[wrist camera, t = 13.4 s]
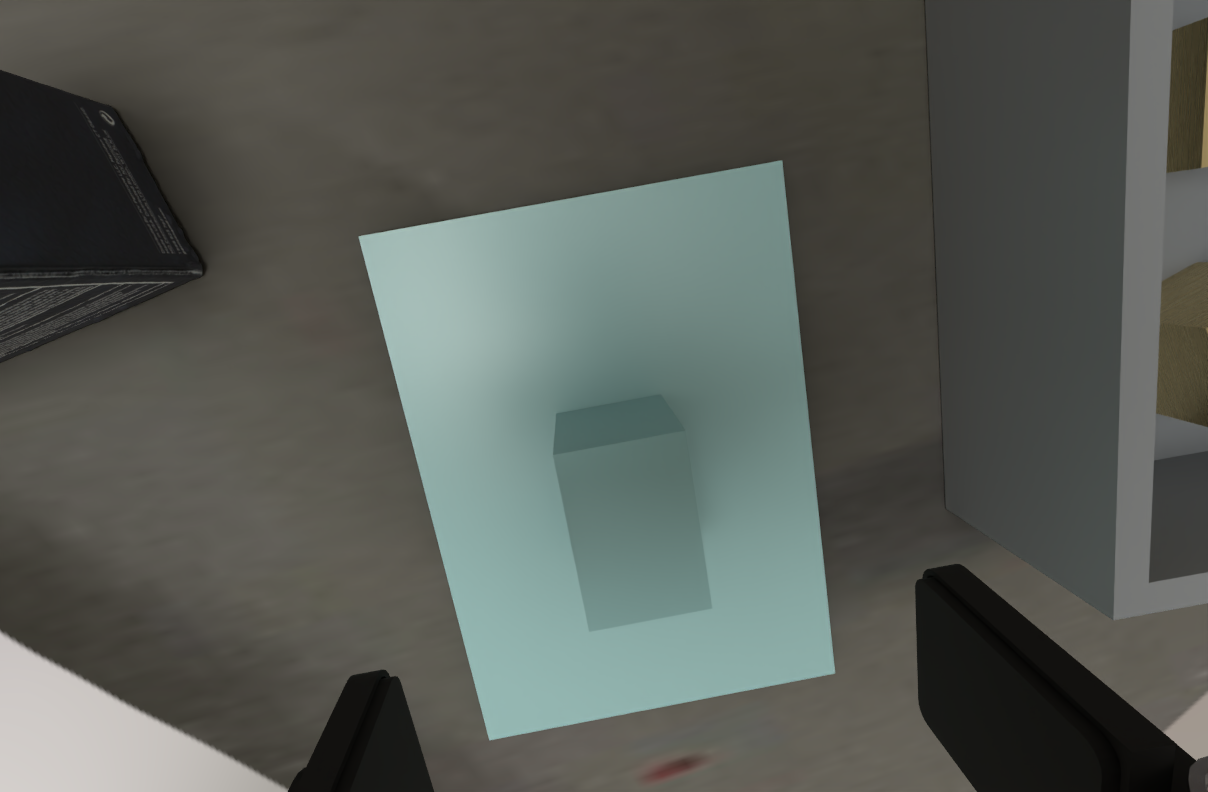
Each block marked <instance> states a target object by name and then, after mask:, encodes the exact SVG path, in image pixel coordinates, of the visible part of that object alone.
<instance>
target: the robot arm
mask: <svg viewBox="0 0 1208 792" xmlns="http://www.w3.org/2000/svg"><path fill="white" fill-rule="evenodd" d="M915 596H916V631H917V667H918V700H919V706H920V710H921V713H922V715H923V718H924V720H925V721H926V723H927V725H928V726H929V727H930V729H931V730H932V732H933V733H934V734H935V736H936V737H937V738H938V740H939V741H940V742H941V744H942V745H943V746H944V748H945V749H946V750H947V752H948V753H949V755H950V756H951V757H952V759H953V760H954V761H955V763H956V764H957V765H958V767H959V768H960V769H961V771H962V772H963V773H964V775H965V776H966V777H967V779H968V780H969V782H970V783H971V784H972V786H973V787H974V788H975V790H976V791H977V792H1208V756H1207V757H1203V758H1200V759H1198V760H1197V761H1196V760H1195V759H1194V758H1192V757H1191V756H1190V755H1189V754H1188V753H1186V752H1185V751H1184V750H1183V749H1182V748H1180V747H1179V746H1178V745H1177V744H1176V743H1175V742H1174V741H1172V740H1171V739H1170V738H1169V737H1168V736H1166V735H1165V734H1164V733H1163V732H1162V731H1161V730H1159V729H1158V728H1157V727H1156V726H1155V725H1153V724H1152V723H1151V722H1150V721H1149V720H1147V719H1146V718H1145V717H1144V716H1143V715H1141V714H1140V713H1139V712H1138V711H1137V710H1135V709H1134V708H1133V707H1132V706H1131V705H1129V704H1128V703H1127V702H1126V701H1125V700H1123V699H1122V698H1121V697H1120V696H1119V695H1117V694H1116V693H1115V692H1114V691H1113V690H1111V689H1110V688H1109V687H1108V686H1107V685H1105V684H1104V683H1103V682H1102V681H1101V680H1099V679H1098V678H1097V677H1096V676H1095V675H1093V674H1092V673H1091V672H1090V671H1089V670H1087V669H1086V668H1085V667H1084V666H1083V665H1081V664H1080V663H1079V662H1078V661H1077V660H1075V659H1074V658H1073V657H1072V656H1071V655H1069V654H1068V653H1067V652H1066V651H1065V650H1064V649H1062V648H1061V647H1060V646H1059V645H1058V644H1056V643H1055V642H1054V641H1053V640H1052V639H1050V638H1049V637H1048V636H1047V635H1046V634H1044V633H1043V632H1042V631H1041V630H1040V629H1038V628H1037V627H1036V626H1035V625H1034V624H1032V623H1031V622H1030V621H1029V620H1028V619H1026V618H1025V617H1024V616H1023V615H1022V614H1020V613H1019V612H1018V611H1017V610H1016V609H1014V608H1013V607H1012V606H1011V605H1010V604H1008V603H1007V602H1006V601H1005V600H1004V599H1002V598H1001V597H1000V596H999V595H998V594H996V593H995V592H994V591H993V590H992V589H990V588H989V587H988V586H987V585H986V584H984V583H983V582H982V581H981V580H980V579H978V578H977V577H976V576H975V575H974V574H972V573H971V572H970V571H969V570H968V569H966V568H965V567H964V566H962V565H960V564H953V565H948V566H942V567H937V568H932V569H927V570H925V571H924V574H923V579H919V580H917V582H916V585H915ZM288 792H434V790H433V787H432V783H431V780H430V777H429V774H428V770H427V767H426V764H425V760H424V757H423V754H422V751H421V747H420V744H419V741H418V737H417V734H416V731H415V728H414V724H413V721H412V718H411V714H410V711H409V708H408V705H407V701H406V698H405V695H404V692H403V688H402V685H401V682H400V680H399V678H398V677H396V676H394V677H390V676H389V673H388V672H387V671H386V670H378V671H373V672H368V673H362V674H357V675H353V676H351V677H350V678H349V679H348V681H347V683H346V685H345V687H344V689H343V691H342V693H341V695H340V697H339V700H338V702H337V704H336V706H335V708H334V710H333V712H332V714H331V716H330V718H329V721H328V723H327V725H326V727H325V729H324V731H323V733H322V735H321V737H320V739H319V742H318V744H317V746H316V748H315V750H314V752H313V754H312V756H311V758H310V760H309V763H308V765H307V767H306V768H304V769H302V770H301V771H300V772H299V773H298V774H297V776H296V777H295V779H294V780H293V782H292V784H291V786H290V788H289V790H288Z"/></svg>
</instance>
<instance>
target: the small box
mask: <svg viewBox="0 0 1208 792" xmlns="http://www.w3.org/2000/svg"><path fill="white" fill-rule="evenodd" d="M202 271H203V268H202V264H201V263H199V260H198V256H197V255H196V253H195V252H194V251H193V248H192V247H191V246H190V245H189V244H188V242H187V241H186V239H185V237H184V235H183V231H182V229H181V228H179V226H178V224H177V222H176V221H175V219H174V217H173V215H172V213H171V212H170V210H169V208H168V206H167V204H166V203H165V201H164V199H163V197H162V195H161V193H160V192H159V190H158V188H157V186H156V183H155V181H154V179H153V178H152V176H151V175H150V173H149V171H148V169H147V167H146V166H145V164H144V162H143V158H142V154H141V152H140V151H139V150H138V148H137V146H136V144H135V143H134V142H133V140H132V138H131V136H130V135H129V134H128V132H127V130H126V128H125V127H124V126H123V124H122V123H121V121H120V119H119V117H118V115H117V114H116V112H115V111H114V109H113V108H112V107H111V106H109V105H105V104H102V103H98V102H95V101H92V100H89V99H86V98H83V97H80V96H77V95H74V94H71V93H68V92H65V91H62V90H59V89H56V88H53V87H50V86H47V85H44V84H41V83H38V82H35V81H32V80H29V79H26V78H23V77H20V76H17V75H14V74H11V73H8V72H5V71H2V70H0V362H3V361H5V360H7V359H10V358H12V357H14V356H16V355H19V354H21V353H24V352H26V351H31V350H33V349H34V348H36V347H38V346H40V345H43V344H45V343H47V342H49V341H52V340H55V339H57V338H59V337H62V336H64V335H66V334H68V333H71V332H73V331H75V330H78V329H81V328H83V327H85V326H87V325H90V324H92V323H96V322H99V321H101V320H103V319H105V318H107V317H109V316H112V315H114V314H115V313H118V312H120V311H122V310H125V309H128V308H130V307H132V306H135V305H138V304H139V303H141V302H144V301H146V300H148V299H151V298H153V297H155V296H157V295H159V294H161V293H164V292H166V291H168V290H171V289H172V288H174V287H177V286H180V285H182V284H184V283H186V282H188V281H191V280H193V279H196V278H199V277H201V276H202Z"/></svg>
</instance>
